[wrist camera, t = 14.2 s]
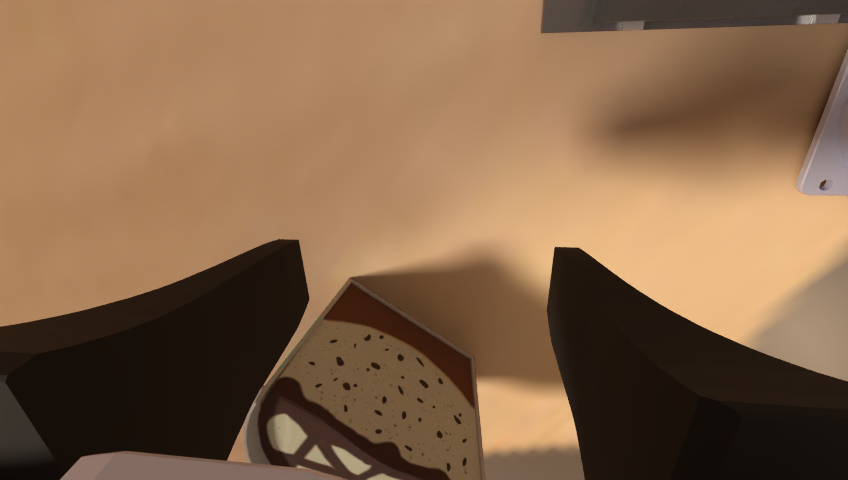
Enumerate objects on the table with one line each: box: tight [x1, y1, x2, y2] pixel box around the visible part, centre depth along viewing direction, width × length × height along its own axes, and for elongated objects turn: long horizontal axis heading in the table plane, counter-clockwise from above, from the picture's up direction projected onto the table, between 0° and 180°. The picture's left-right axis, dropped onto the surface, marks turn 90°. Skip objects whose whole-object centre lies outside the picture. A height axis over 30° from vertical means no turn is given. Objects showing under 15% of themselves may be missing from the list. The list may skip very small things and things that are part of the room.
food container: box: [244, 278, 485, 480], centre depth 22 cm, size 12×6×10 cm, turn 55°
